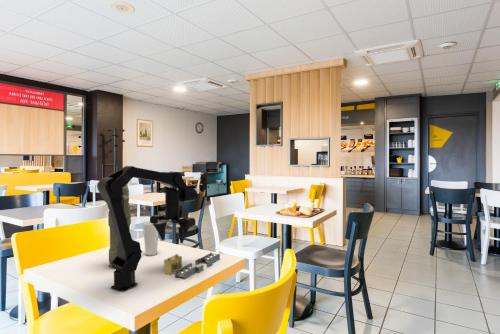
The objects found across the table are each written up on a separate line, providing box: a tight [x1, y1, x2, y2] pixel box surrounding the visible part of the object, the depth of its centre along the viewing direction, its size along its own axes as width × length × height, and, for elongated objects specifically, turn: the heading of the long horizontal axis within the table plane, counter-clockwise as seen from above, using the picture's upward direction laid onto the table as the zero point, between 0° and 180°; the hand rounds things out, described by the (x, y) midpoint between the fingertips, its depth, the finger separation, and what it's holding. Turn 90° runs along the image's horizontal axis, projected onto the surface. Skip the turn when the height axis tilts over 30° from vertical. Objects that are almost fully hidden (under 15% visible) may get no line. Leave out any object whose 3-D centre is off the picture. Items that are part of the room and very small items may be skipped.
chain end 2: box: [194, 252, 221, 268], centre depth 133 cm, size 11×7×2 cm, turn 154°
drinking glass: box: [143, 221, 159, 256], centre depth 145 cm, size 7×7×15 cm
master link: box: [163, 254, 183, 276], centre depth 123 cm, size 6×4×6 cm, turn 154°
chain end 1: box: [174, 262, 204, 280], centre depth 121 cm, size 11×7×2 cm, turn 154°
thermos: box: [107, 184, 132, 270], centre depth 130 cm, size 9×12×35 cm
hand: (172, 241), depth 123 cm, fingers open, 9 cm apart
